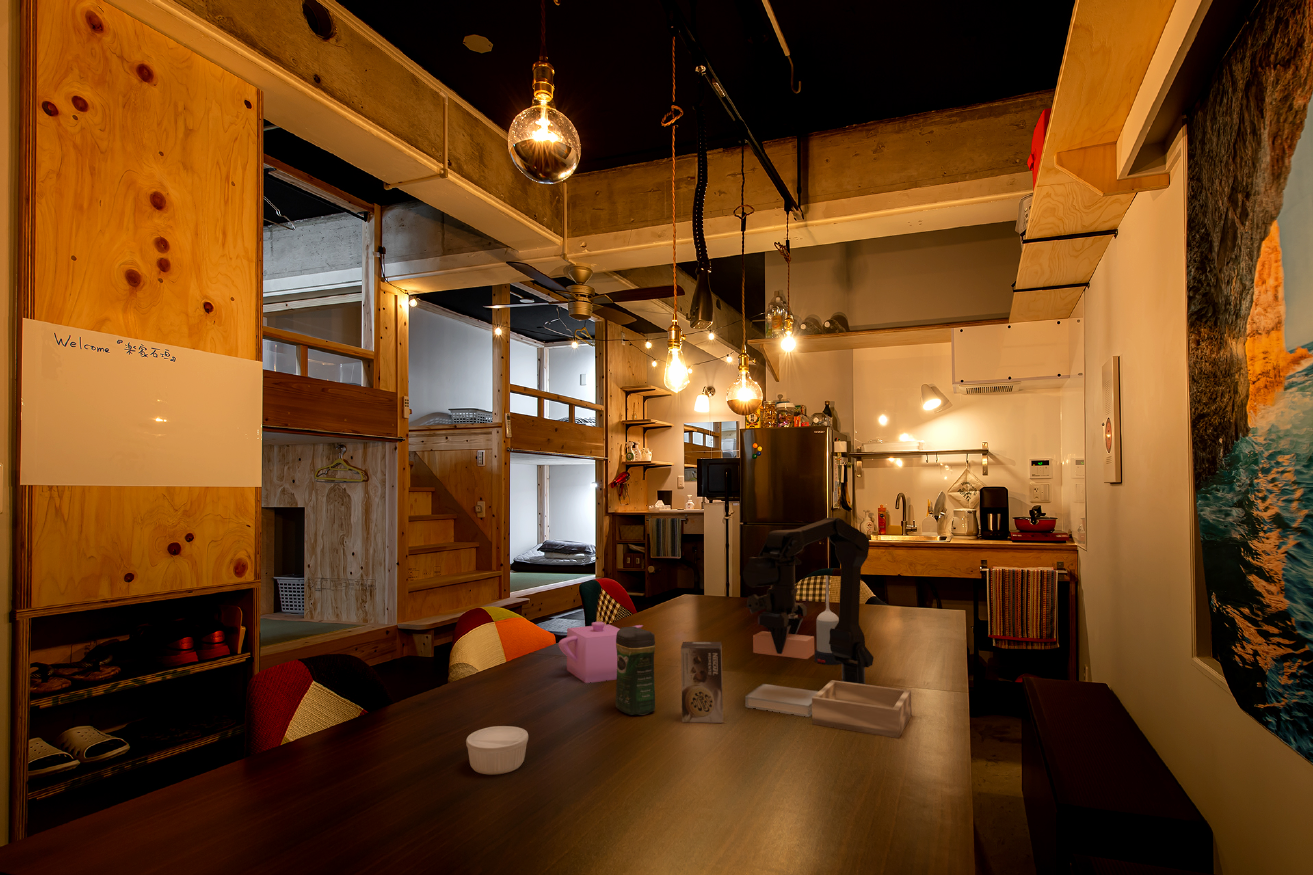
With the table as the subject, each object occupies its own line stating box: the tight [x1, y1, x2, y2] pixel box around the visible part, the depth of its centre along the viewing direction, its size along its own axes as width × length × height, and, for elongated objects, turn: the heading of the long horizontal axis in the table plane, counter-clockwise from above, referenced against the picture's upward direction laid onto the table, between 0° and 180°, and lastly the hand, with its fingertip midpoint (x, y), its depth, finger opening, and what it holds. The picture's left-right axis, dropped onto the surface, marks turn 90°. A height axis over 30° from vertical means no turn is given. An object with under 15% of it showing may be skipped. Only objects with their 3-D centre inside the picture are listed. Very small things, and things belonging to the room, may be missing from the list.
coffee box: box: [680, 641, 724, 724], centre depth 155 cm, size 9×6×16 cm
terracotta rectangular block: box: [752, 630, 815, 660], centre depth 165 cm, size 6×13×4 cm, turn 61°
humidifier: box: [814, 575, 842, 666], centre depth 207 cm, size 8×8×25 cm
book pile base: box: [744, 683, 819, 718], centre depth 164 cm, size 12×15×2 cm
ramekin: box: [465, 725, 529, 775], centre depth 128 cm, size 11×11×5 cm
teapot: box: [558, 621, 644, 684], centre depth 193 cm, size 15×25×14 cm, turn 116°
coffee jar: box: [615, 625, 656, 716], centre depth 161 cm, size 10×8×19 cm
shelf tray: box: [811, 679, 913, 739], centre depth 153 cm, size 16×18×6 cm
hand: (783, 650), depth 164 cm, fingers closed on terracotta rectangular block, 6 cm apart
